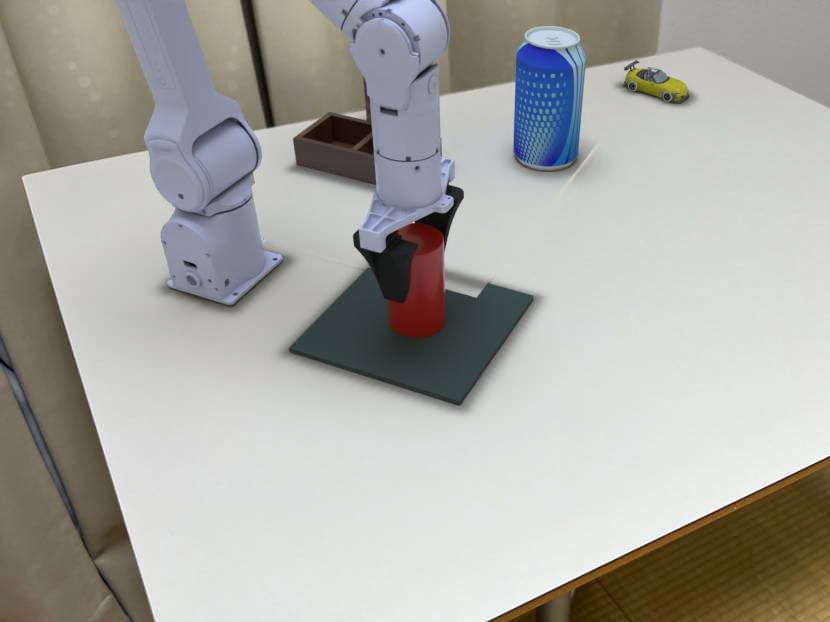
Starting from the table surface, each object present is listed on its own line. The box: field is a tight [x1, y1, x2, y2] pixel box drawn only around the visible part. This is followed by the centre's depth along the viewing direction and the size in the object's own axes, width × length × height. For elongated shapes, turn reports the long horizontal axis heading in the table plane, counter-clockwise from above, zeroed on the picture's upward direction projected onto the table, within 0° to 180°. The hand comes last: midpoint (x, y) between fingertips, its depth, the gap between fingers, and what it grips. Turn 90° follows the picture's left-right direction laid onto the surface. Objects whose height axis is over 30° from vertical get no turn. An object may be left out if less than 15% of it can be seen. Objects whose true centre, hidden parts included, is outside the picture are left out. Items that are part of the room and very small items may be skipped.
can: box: [388, 222, 446, 338], centre depth 86 cm, size 6×6×10 cm
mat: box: [288, 267, 534, 405], centre depth 89 cm, size 18×18×1 cm
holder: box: [292, 111, 443, 186], centre depth 111 cm, size 8×16×4 cm, turn 68°
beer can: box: [512, 25, 587, 171], centre depth 110 cm, size 8×8×16 cm
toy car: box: [623, 59, 691, 104], centre depth 133 cm, size 5×10×3 cm, turn 57°
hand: (413, 277), depth 85 cm, fingers open, 7 cm apart
